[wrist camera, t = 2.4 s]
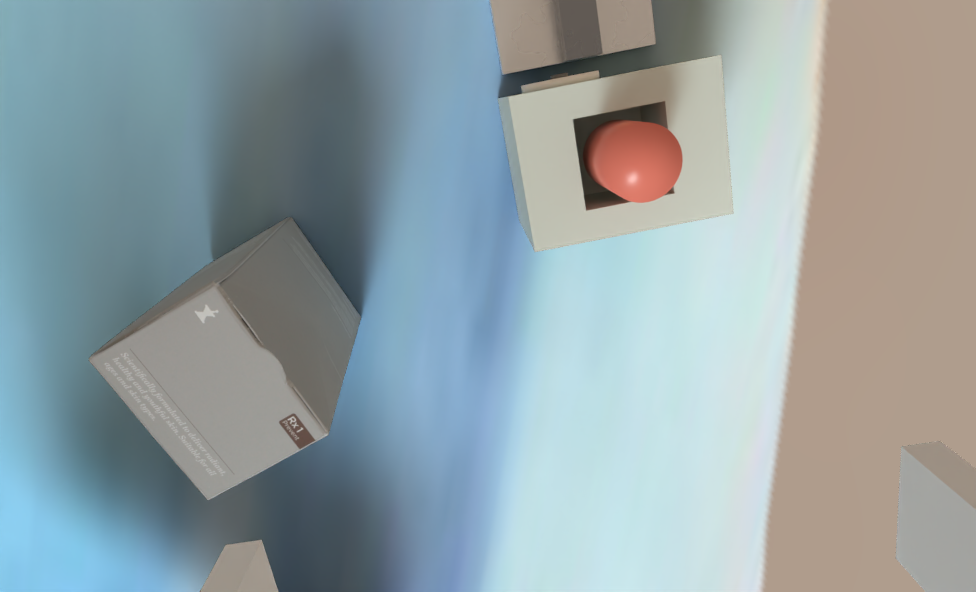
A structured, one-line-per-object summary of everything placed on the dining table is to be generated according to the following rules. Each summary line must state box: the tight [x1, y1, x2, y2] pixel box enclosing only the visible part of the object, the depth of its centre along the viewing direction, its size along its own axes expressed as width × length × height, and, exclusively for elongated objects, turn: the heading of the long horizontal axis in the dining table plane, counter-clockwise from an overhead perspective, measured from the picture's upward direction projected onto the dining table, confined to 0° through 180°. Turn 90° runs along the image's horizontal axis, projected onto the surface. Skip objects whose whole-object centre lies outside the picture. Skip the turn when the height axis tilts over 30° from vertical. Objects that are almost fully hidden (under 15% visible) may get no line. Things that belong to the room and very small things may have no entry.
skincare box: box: [89, 217, 361, 500], centre depth 34 cm, size 8×7×16 cm
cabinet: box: [498, 55, 734, 252], centre depth 35 cm, size 10×8×9 cm
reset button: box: [583, 120, 683, 203], centre depth 30 cm, size 3×3×5 cm
